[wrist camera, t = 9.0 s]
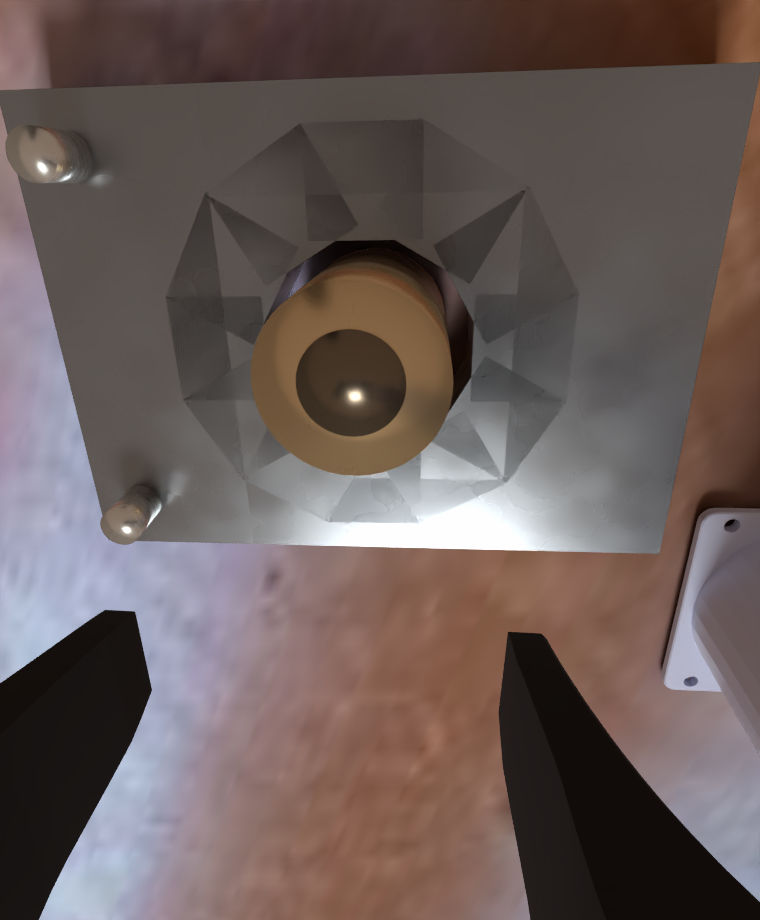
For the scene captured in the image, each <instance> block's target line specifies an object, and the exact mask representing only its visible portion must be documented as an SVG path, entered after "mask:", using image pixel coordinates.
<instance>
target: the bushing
mask: <svg viewBox="0 0 760 920" xmlns="http://www.w3.org/2000/svg"><path fill="white" fill-rule="evenodd" d="M251 386H252V392H253V396H254V400H255V403H256V406H257V409H258V412H259V414H260V416H261V418H262V420H263V422H264V423H265V425H266V426H267V428H268V429H269V431H270V432H271V434H272V435H273V436H274V437H275V439H276V440H277V441H278V442H279V443H280V444H281V445H282V446H283V447H284V448H285V449H286V450H288V451H289V452H290V453H291V454H293V455H294V456H296V457H297V458H298V459H300V460H302V461H303V462H305V463H307V464H309V465H311V466H313V467H316V468H318V469H321V470H324V471H327V472H331V473H335V474H341V475H352V476H362V475H372V474H377V473H382V472H385V471H388V470H391V469H394V468H396V467H398V466H401V465H403V464H405V463H406V462H408V461H410V460H411V459H413V458H414V457H416V456H417V455H418V454H419V453H421V452H422V451H423V450H424V449H425V448H426V447H427V446H428V445H429V444H430V443H431V442H432V441H433V439H434V438H435V436H436V435H437V434H438V432H439V431H440V429H441V427H442V425H443V423H444V421H445V419H446V417H447V414H448V411H449V408H450V404H451V399H452V395H453V369H452V361H451V353H450V346H449V338H448V330H447V323H446V315H445V308H444V303H443V299H442V297H441V294H440V291H439V289H438V287H437V285H436V283H435V282H434V280H433V279H432V277H431V276H430V275H429V273H428V272H427V271H426V270H425V269H424V268H423V267H422V266H421V265H419V264H418V263H417V262H416V261H414V260H413V259H411V258H409V257H408V256H406V255H403V254H401V253H399V252H396V251H392V250H388V249H382V248H368V249H361V250H357V251H353V252H351V253H348V254H346V255H344V256H342V257H340V258H339V259H337V260H335V261H334V262H333V263H332V264H330V265H329V266H328V267H327V268H325V269H324V270H323V271H322V272H320V273H319V274H318V275H317V276H316V277H314V278H313V279H312V280H311V281H309V282H308V283H307V284H306V285H304V286H303V287H302V288H301V289H299V290H298V291H297V292H296V293H295V294H293V295H292V296H291V297H290V298H288V299H287V300H286V301H285V302H283V303H282V304H281V305H280V306H279V307H278V308H277V309H276V310H275V311H274V312H273V313H272V314H271V316H270V317H269V319H268V320H267V321H266V323H265V324H264V326H263V328H262V330H261V332H260V334H259V336H258V338H257V341H256V344H255V347H254V350H253V355H252V360H251Z"/></svg>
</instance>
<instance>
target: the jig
mask: <svg viewBox="0 0 760 920" xmlns="http://www.w3.org/2000/svg"><path fill="white" fill-rule="evenodd" d="M759 76H760V62H751V63H724V64H697V65H670V66H643V67H616V68H589V69H562V70H536V71H509V72H482V73H455V74H428V75H401V76H374V77H347V78H320V79H293V80H266V81H239V82H213V83H186V84H159V85H132V86H105V87H78V88H51V89H24V90H0V106H1V110H2V114H3V118H4V122H5V126H6V130H7V134H8V136H7V140H6V154H7V158H8V160H9V163H10V164H11V166H12V168H13V169H14V170H15V172H16V173H17V174H18V178H19V182H20V186H21V190H22V194H23V198H24V202H25V206H26V210H27V214H28V218H29V222H30V226H31V230H32V234H33V238H34V242H35V246H36V250H37V254H38V258H39V262H40V266H41V270H42V274H43V278H44V282H45V286H46V290H47V294H48V298H49V302H50V306H51V310H52V314H53V319H54V323H55V327H56V331H57V335H58V339H59V343H60V347H61V351H62V355H63V359H64V363H65V367H66V371H67V375H68V379H69V383H70V387H71V391H72V395H73V399H74V403H75V407H76V411H77V415H78V419H79V423H80V427H81V431H82V435H83V439H84V443H85V447H86V451H87V455H88V459H89V463H90V467H91V471H92V475H93V479H94V483H95V487H96V491H97V495H98V499H99V503H100V507H101V511H102V515H103V516H102V518H101V522H100V524H101V529H102V531H103V533H104V534H105V536H106V537H107V538H108V539H109V540H111V541H113V542H115V543H118V544H123V545H127V544H131V543H133V542H135V541H164V542H205V543H245V544H286V545H327V546H368V547H409V548H449V549H490V550H531V551H572V552H612V553H653V554H659V552H660V547H661V543H662V538H663V533H664V528H665V524H666V519H667V514H668V509H669V504H670V500H671V495H672V490H673V485H674V481H675V476H676V471H677V466H678V462H679V457H680V452H681V447H682V443H683V438H684V433H685V428H686V423H687V419H688V414H689V409H690V404H691V400H692V395H693V390H694V385H695V381H696V376H697V371H698V366H699V361H700V357H701V352H702V347H703V342H704V338H705V333H706V328H707V323H708V319H709V314H710V309H711V304H712V300H713V295H714V290H715V285H716V280H717V276H718V271H719V266H720V261H721V257H722V252H723V247H724V242H725V238H726V233H727V228H728V223H729V219H730V214H731V209H732V204H733V199H734V195H735V190H736V185H737V180H738V176H739V171H740V166H741V161H742V157H743V152H744V147H745V142H746V137H747V133H748V128H749V123H750V118H751V114H752V109H753V104H754V99H755V95H756V90H757V85H758V80H759ZM353 240H396V241H398V242H399V243H401V244H403V245H404V246H406V247H408V248H409V249H411V250H413V251H414V252H416V253H418V254H420V255H421V256H423V257H425V258H426V259H428V260H430V261H431V262H433V263H435V264H436V265H438V266H440V267H441V268H443V269H445V270H446V271H447V273H448V274H449V276H450V278H451V280H452V282H453V284H454V286H455V287H456V289H457V291H458V293H459V295H460V297H461V299H462V301H463V302H464V304H465V306H466V308H467V310H468V335H467V355H466V357H465V359H464V360H463V362H462V363H461V365H460V367H459V368H458V370H457V371H456V373H455V374H454V376H453V395H452V399H451V404H450V408H449V411H448V414H447V417H446V419H445V421H444V423H443V425H442V427H441V429H440V431H439V432H438V434H437V435H436V436H435V438H434V439H433V441H432V442H431V443H430V444H429V445H428V446H427V447H426V448H425V449H424V450H423V451H422V452H421V453H419V454H418V455H417V456H416V457H414V458H413V459H411V460H410V461H408V462H406V463H405V464H403V465H401V466H398V467H396V468H394V469H391V470H388V471H385V472H382V473H377V474H372V475H362V476H352V475H341V474H335V473H331V472H327V471H324V470H321V469H318V468H316V467H313V466H311V465H309V464H307V463H305V462H303V461H302V460H300V459H298V458H297V457H296V456H294V455H293V454H291V453H290V452H289V451H288V450H286V449H285V448H284V447H283V446H282V445H281V444H280V443H279V442H278V441H277V440H276V439H275V437H274V436H273V435H272V434H271V432H270V431H269V429H268V428H267V426H266V425H265V423H264V422H263V420H262V418H261V416H260V414H259V412H258V409H257V406H256V403H255V400H254V396H253V392H252V386H251V360H252V355H253V350H254V347H255V344H256V341H257V338H258V336H259V334H260V332H261V330H262V328H263V326H264V324H265V323H266V321H267V320H268V319H269V317H270V316H271V314H272V313H273V312H274V311H275V310H276V309H277V308H278V307H279V306H280V305H281V304H282V303H283V302H285V301H286V300H287V298H288V296H289V293H290V291H291V289H292V287H293V285H294V283H295V281H296V279H297V276H298V274H299V272H300V270H301V268H302V266H303V264H304V262H305V261H306V260H308V259H310V258H311V257H313V256H314V255H316V254H317V253H319V252H320V251H322V250H323V249H325V248H326V247H328V246H329V245H331V244H332V243H334V242H336V241H353Z"/></svg>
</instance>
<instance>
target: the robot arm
mask: <svg viewBox="0 0 760 920" xmlns="http://www.w3.org/2000/svg"><path fill="white" fill-rule="evenodd" d="M732 519H735V521H734V523H733V524H731V525H730V526H726V527H724V525H725V523H726V522H727V521H729V520H732ZM691 676H693V677H691ZM688 677H691V678H689V679H686V678H688ZM661 678H662V680H663V682H664V684H665V686H666V687H668V688H670V689H674V690H695V691H719V692H723V694H724V696H725V697H726V699H727V701H728V703H729V704H730V706H731V708H732V709H733V711H734V713H735V715H736V716H737V718H738V720H739V722H740V723H741V725H742V727H743V728H744V730H745V732H746V734H747V735H748V737H749V739H750V741H751V742H752V744H753V746H754V748H755V749H756V751H757V753H758V754H759V756H760V508H710V509H707V510H705V511H704V512H702V513H701V514H700V515H699V518H698V520H697V523H696V528H695V532H694V536H693V540H692V545H691V549H690V553H689V558H688V562H687V566H686V570H685V575H684V579H683V583H682V587H681V592H680V596H679V600H678V604H677V609H676V613H675V617H674V621H673V626H672V630H671V634H670V638H669V643H668V647H667V651H666V655H665V660H664V664H663V668H662V672H661ZM151 691H152V688H151V684H150V679H149V674H148V670H147V665H146V660H145V656H144V651H143V646H142V642H141V637H140V633H139V628H138V623H137V619H136V614H135V612H132V611H113V610H104V611H103V612H101V613H100V614H98V615H97V616H95V617H94V618H92V619H91V620H89V621H88V622H86V623H85V624H83V625H82V626H81V627H79V628H78V629H76V630H75V631H74V632H72V633H71V634H69V635H68V636H67V637H65V638H64V639H62V640H61V641H60V642H58V643H57V644H55V645H54V646H53V647H51V648H50V649H48V650H47V651H46V652H44V653H43V654H41V655H40V656H39V657H37V658H36V659H34V660H33V661H31V662H30V663H29V664H27V665H26V666H24V667H23V668H21V669H20V670H19V671H17V672H16V673H14V674H13V675H12V676H10V677H9V678H7V679H6V680H4V681H3V682H2V683H0V920H39V918H40V916H41V913H42V911H43V909H44V907H45V904H46V902H47V900H48V898H49V895H50V893H51V891H52V889H53V887H54V885H55V883H56V881H57V879H58V877H59V875H60V873H61V871H62V869H63V867H64V865H65V863H66V861H67V859H68V857H69V855H70V854H71V852H72V850H73V848H74V846H75V844H76V843H77V841H78V839H79V837H80V835H81V834H82V832H83V830H84V828H85V826H86V824H87V823H88V821H89V819H90V817H91V815H92V814H93V812H94V810H95V808H96V806H97V804H98V803H99V801H100V799H101V797H102V795H103V794H104V792H105V790H106V788H107V786H108V785H109V783H110V781H111V779H112V777H113V775H114V773H115V772H116V770H117V768H118V766H119V764H120V762H121V760H122V759H123V757H124V755H125V753H126V751H127V749H128V747H129V745H130V743H131V742H132V739H133V737H134V734H135V732H136V730H137V727H138V725H139V722H140V720H141V718H142V715H143V712H144V710H145V707H146V704H147V702H148V699H149V696H150V694H151ZM499 722H500V736H501V749H502V760H503V770H504V775H505V781H506V786H507V792H508V797H509V803H510V808H511V814H512V819H513V824H514V830H515V835H516V840H517V846H518V851H519V856H520V862H521V867H522V873H523V878H524V883H525V889H526V894H527V899H528V906H529V913H530V919H531V920H760V902H759V901H758V900H757V899H756V898H755V897H754V896H753V895H752V894H751V893H750V892H749V891H748V890H747V889H746V888H745V887H743V886H742V885H741V884H740V883H739V882H738V881H737V880H736V879H735V878H734V877H733V876H732V875H731V874H730V873H729V872H728V871H727V870H726V869H725V868H724V867H723V866H722V865H721V864H720V863H719V862H718V861H717V860H716V859H715V858H714V857H713V856H712V855H711V854H710V853H709V852H708V851H707V850H706V849H705V848H704V846H703V845H702V844H701V843H700V842H699V841H698V840H697V839H696V838H695V837H694V836H693V835H692V834H691V833H690V832H689V831H688V829H687V828H686V827H685V826H684V825H683V824H682V823H681V822H680V821H679V820H678V818H677V817H676V816H675V815H674V814H673V813H672V812H671V811H670V810H669V808H668V807H667V806H666V805H665V804H664V803H663V802H662V800H661V799H660V798H659V797H658V796H657V795H656V793H655V792H654V791H653V790H652V789H651V787H650V786H649V785H648V784H647V783H646V781H645V780H644V779H643V778H642V777H641V775H640V774H639V773H638V771H637V770H636V769H635V768H634V766H633V765H632V764H631V763H630V761H629V760H628V759H627V758H626V756H625V755H624V754H623V753H622V751H621V750H620V749H619V747H618V746H617V745H616V743H615V742H614V741H613V739H612V738H611V737H610V735H609V734H608V733H607V731H606V730H605V728H604V727H603V726H602V724H601V723H600V721H599V720H598V719H597V717H596V716H595V714H594V713H593V712H592V710H591V709H590V707H589V706H588V705H587V703H586V702H585V700H584V699H583V697H582V696H581V694H580V693H579V691H578V690H577V688H576V687H575V685H574V683H573V682H572V680H571V679H570V677H569V676H568V674H567V673H566V671H565V669H564V668H563V666H562V665H561V663H560V661H559V660H558V658H557V656H556V655H555V653H554V651H553V650H552V648H551V646H550V644H549V643H548V641H547V639H546V638H545V637H544V636H543V635H542V634H537V633H519V632H508V637H507V646H506V654H505V663H504V671H503V680H502V689H501V697H500V706H499Z"/></svg>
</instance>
